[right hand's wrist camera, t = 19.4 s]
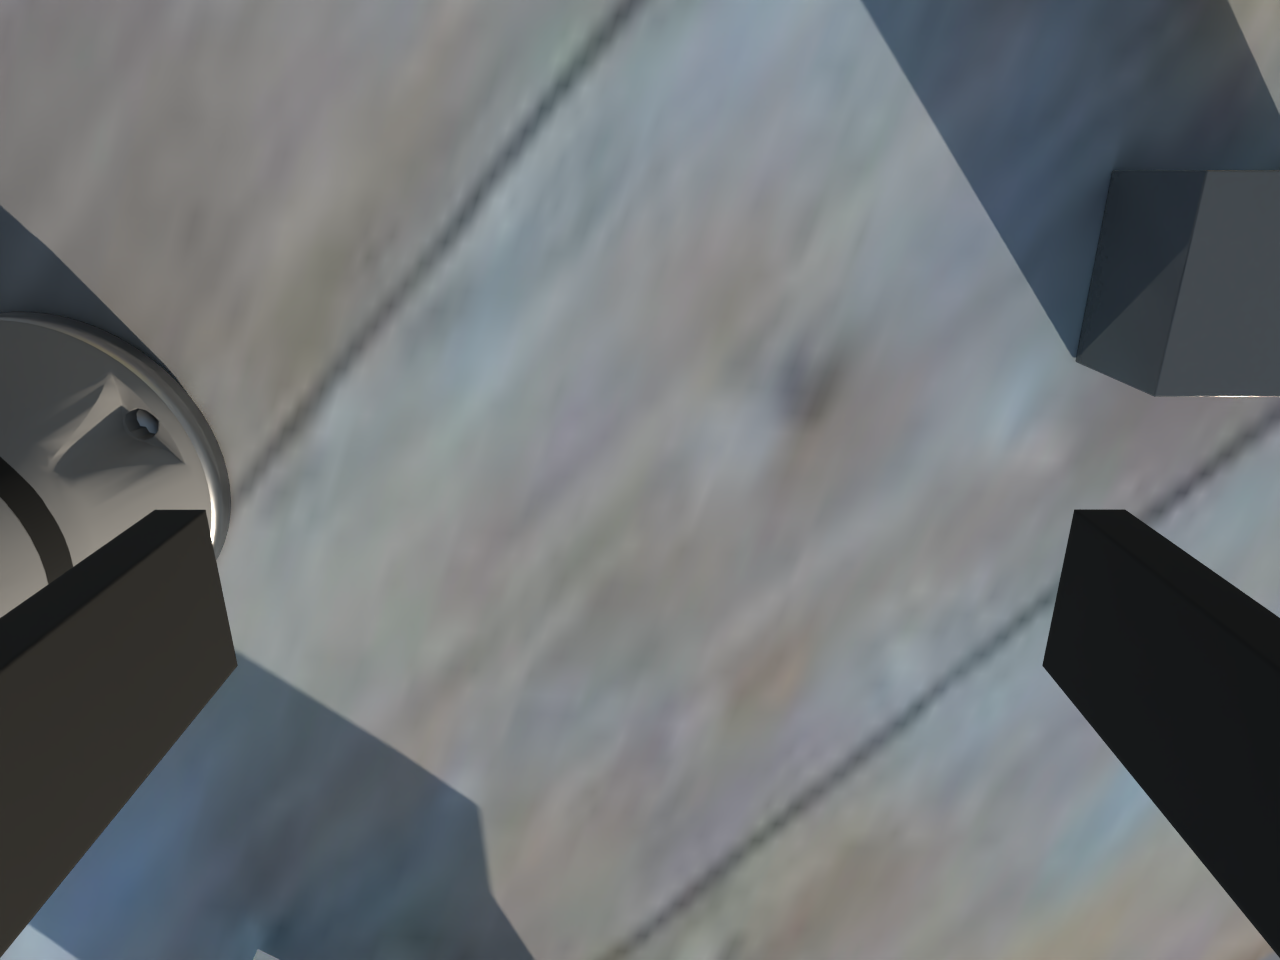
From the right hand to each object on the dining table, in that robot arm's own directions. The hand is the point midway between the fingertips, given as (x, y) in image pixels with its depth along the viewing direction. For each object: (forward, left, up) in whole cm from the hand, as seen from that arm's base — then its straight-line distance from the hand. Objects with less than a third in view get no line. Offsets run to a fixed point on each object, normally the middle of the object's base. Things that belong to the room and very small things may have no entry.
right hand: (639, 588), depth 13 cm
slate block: (+22, +8, -25) cm, 34 cm away
